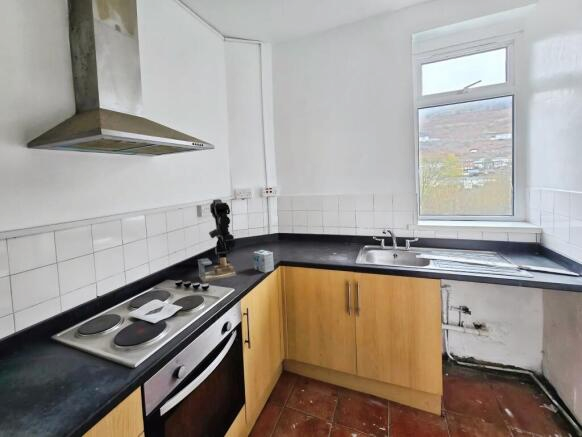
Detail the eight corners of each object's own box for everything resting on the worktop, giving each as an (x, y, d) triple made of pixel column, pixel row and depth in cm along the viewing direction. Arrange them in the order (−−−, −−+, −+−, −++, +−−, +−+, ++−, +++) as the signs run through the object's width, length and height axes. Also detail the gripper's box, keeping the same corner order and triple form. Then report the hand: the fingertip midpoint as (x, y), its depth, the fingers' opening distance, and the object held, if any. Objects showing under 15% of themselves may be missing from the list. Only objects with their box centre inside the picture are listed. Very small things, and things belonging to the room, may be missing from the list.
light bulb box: (254, 269, 167) (252, 252, 165) (263, 266, 171) (261, 249, 170) (265, 273, 159) (264, 254, 158) (274, 269, 164) (273, 252, 162)
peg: (226, 270, 163) (225, 257, 162) (228, 271, 160) (226, 258, 159) (220, 271, 161) (218, 258, 160) (221, 273, 158) (220, 259, 157)
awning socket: (199, 276, 160) (197, 259, 159) (229, 269, 168) (228, 253, 167) (203, 282, 150) (201, 264, 148) (235, 275, 158) (234, 258, 157)
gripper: (205, 223, 170) (208, 248, 172) (213, 227, 154) (215, 255, 156) (223, 221, 175) (226, 245, 178) (232, 225, 159) (235, 251, 161)
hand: (225, 249), depth 168 cm, fingers open, 9 cm apart
